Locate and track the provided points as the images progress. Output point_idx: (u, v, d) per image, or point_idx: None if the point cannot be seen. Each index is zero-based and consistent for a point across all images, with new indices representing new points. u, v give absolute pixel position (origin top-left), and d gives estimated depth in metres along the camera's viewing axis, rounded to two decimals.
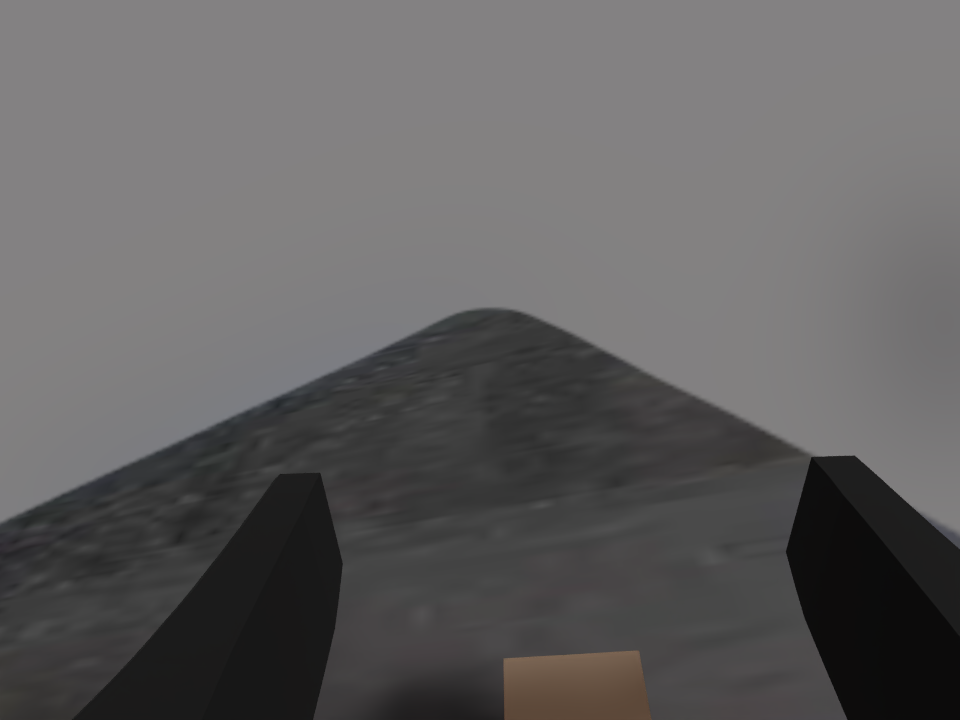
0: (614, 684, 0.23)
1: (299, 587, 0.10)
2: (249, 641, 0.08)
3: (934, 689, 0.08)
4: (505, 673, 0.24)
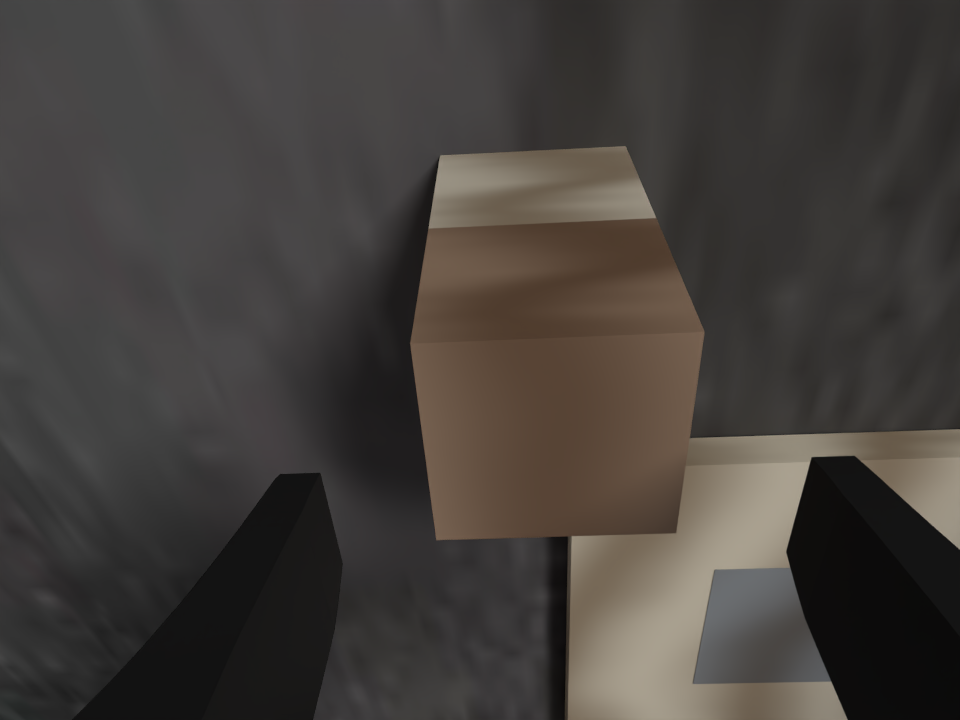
0: (488, 389, 0.12)
1: (299, 587, 0.10)
2: (249, 641, 0.08)
3: (934, 689, 0.08)
4: (465, 537, 0.14)
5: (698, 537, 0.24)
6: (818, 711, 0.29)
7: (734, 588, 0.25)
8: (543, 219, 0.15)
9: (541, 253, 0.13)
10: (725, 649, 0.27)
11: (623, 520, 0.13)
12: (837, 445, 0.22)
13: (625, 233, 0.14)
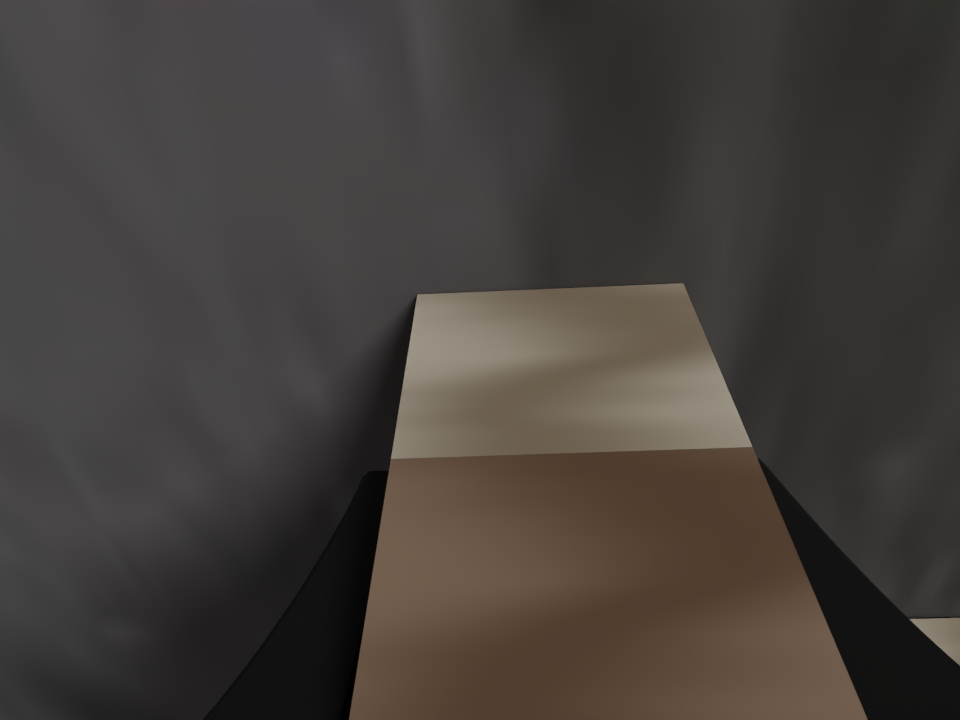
0: None
1: None
2: None
3: None
4: None
5: None
6: None
7: None
8: (572, 443, 0.09)
9: (573, 532, 0.08)
10: None
11: None
12: (945, 639, 0.17)
13: (707, 484, 0.09)
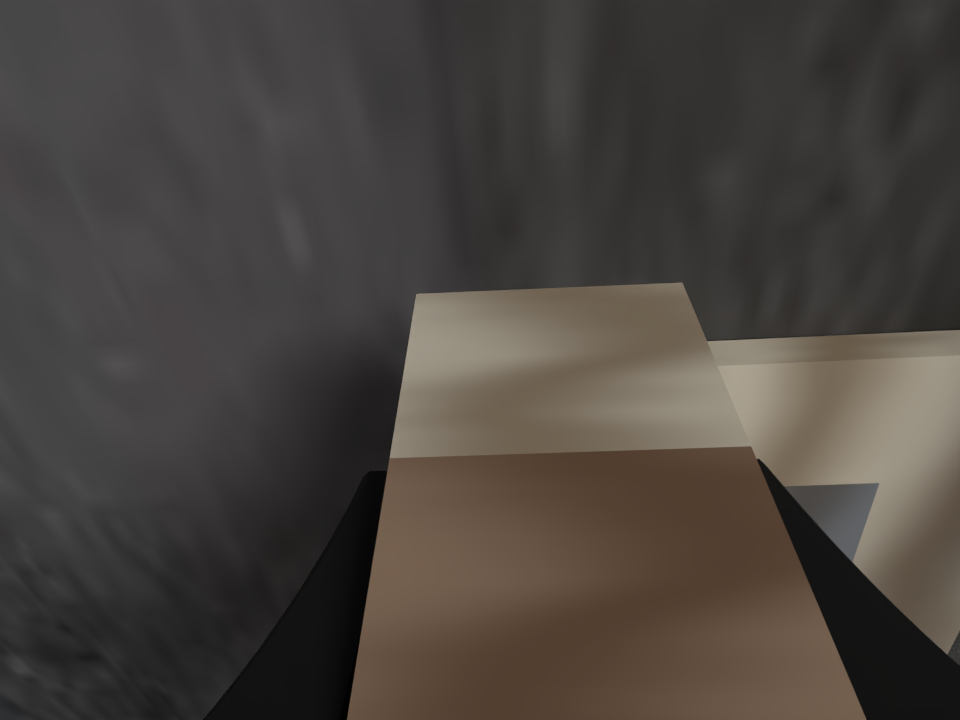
0: None
1: None
2: None
3: None
4: None
5: None
6: None
7: None
8: (571, 443, 0.09)
9: (571, 531, 0.08)
10: None
11: None
12: (784, 348, 0.21)
13: (706, 483, 0.09)
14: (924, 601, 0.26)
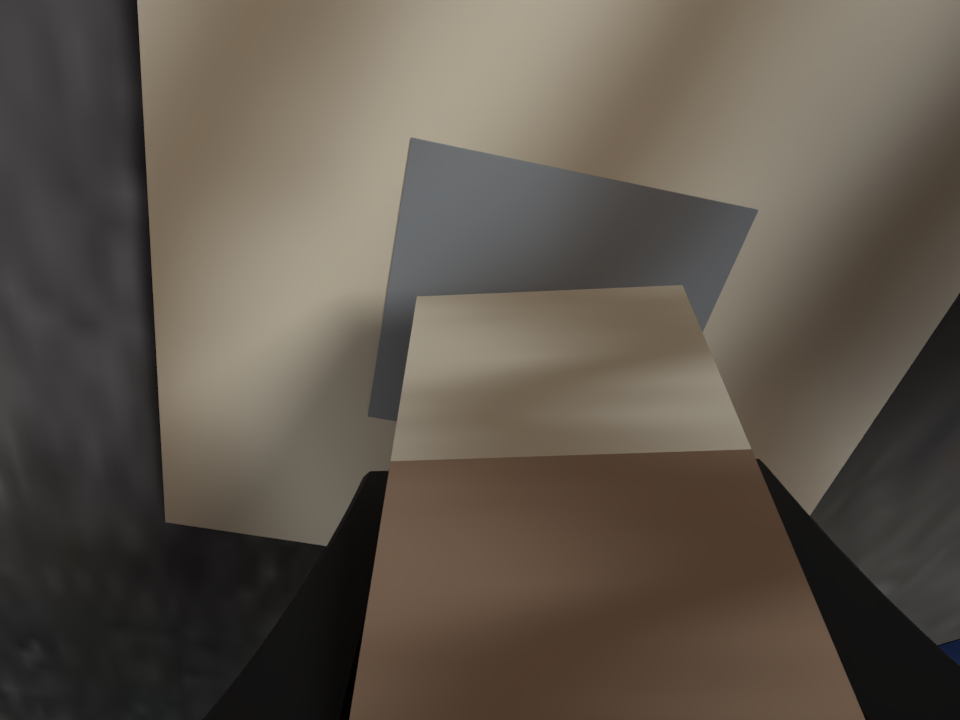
0: None
1: None
2: None
3: None
4: None
5: (383, 36, 0.12)
6: None
7: (443, 195, 0.14)
8: (571, 446, 0.09)
9: (572, 534, 0.08)
10: None
11: None
12: None
13: (706, 486, 0.09)
14: (772, 460, 0.18)
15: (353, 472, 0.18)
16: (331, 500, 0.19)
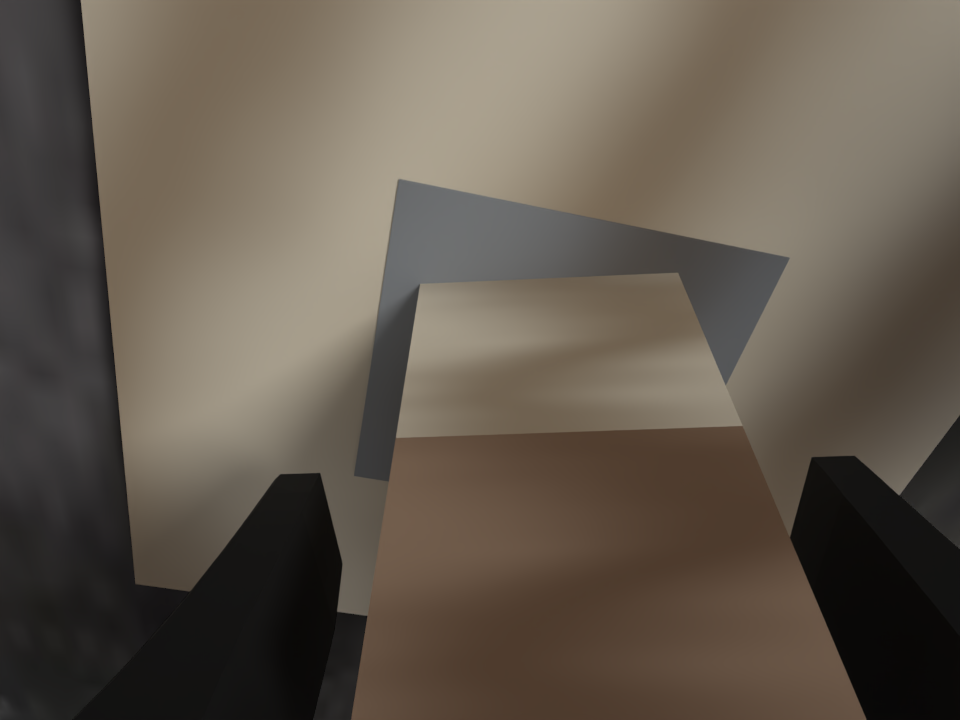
0: None
1: (299, 587, 0.10)
2: (249, 641, 0.08)
3: (934, 689, 0.08)
4: None
5: (366, 66, 0.11)
6: None
7: (436, 241, 0.12)
8: (569, 423, 0.10)
9: (570, 504, 0.08)
10: None
11: None
12: None
13: (699, 460, 0.09)
14: None
15: (339, 533, 0.17)
16: None
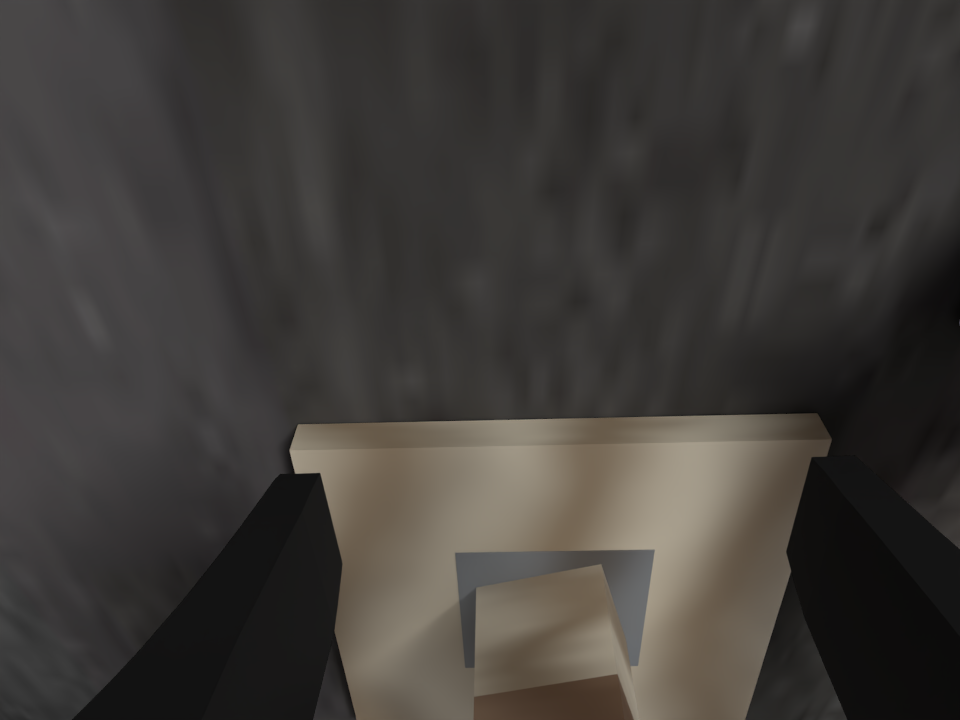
0: None
1: (299, 587, 0.10)
2: (249, 641, 0.08)
3: (934, 689, 0.08)
4: None
5: (430, 520, 0.24)
6: None
7: (479, 571, 0.25)
8: (545, 680, 0.22)
9: None
10: None
11: None
12: (551, 430, 0.23)
13: (597, 697, 0.21)
14: (719, 653, 0.28)
15: (464, 694, 0.30)
16: (455, 709, 0.30)
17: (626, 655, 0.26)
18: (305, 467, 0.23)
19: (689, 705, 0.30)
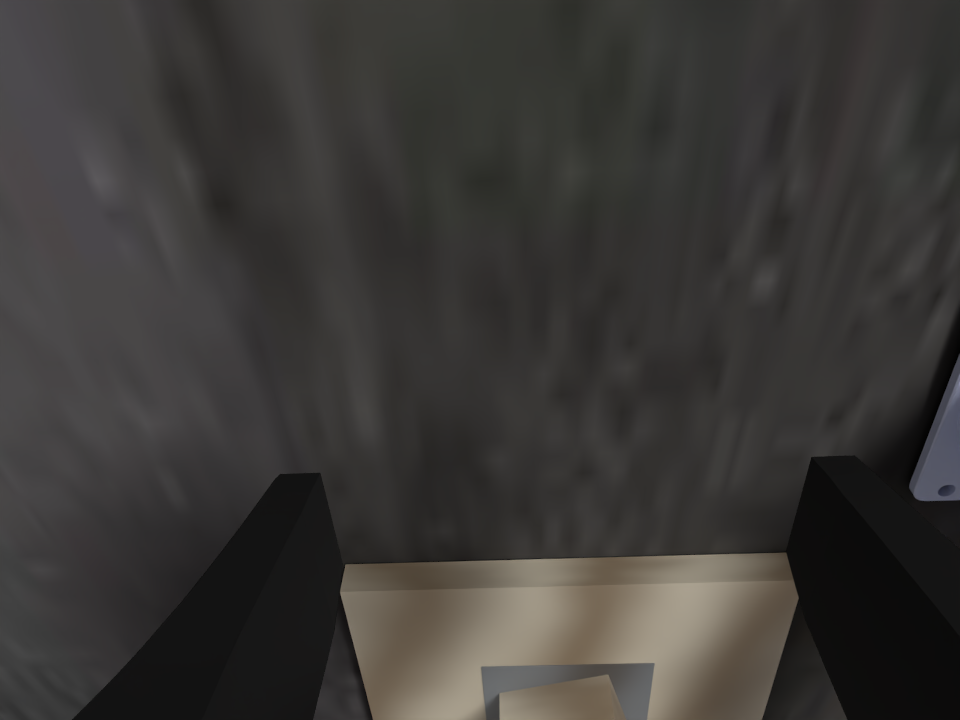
0: None
1: (299, 587, 0.10)
2: (249, 641, 0.08)
3: (934, 689, 0.08)
4: None
5: (459, 642, 0.28)
6: None
7: (501, 681, 0.29)
8: None
9: None
10: None
11: None
12: (563, 570, 0.26)
13: None
14: None
15: None
16: None
17: None
18: (353, 604, 0.27)
19: None
